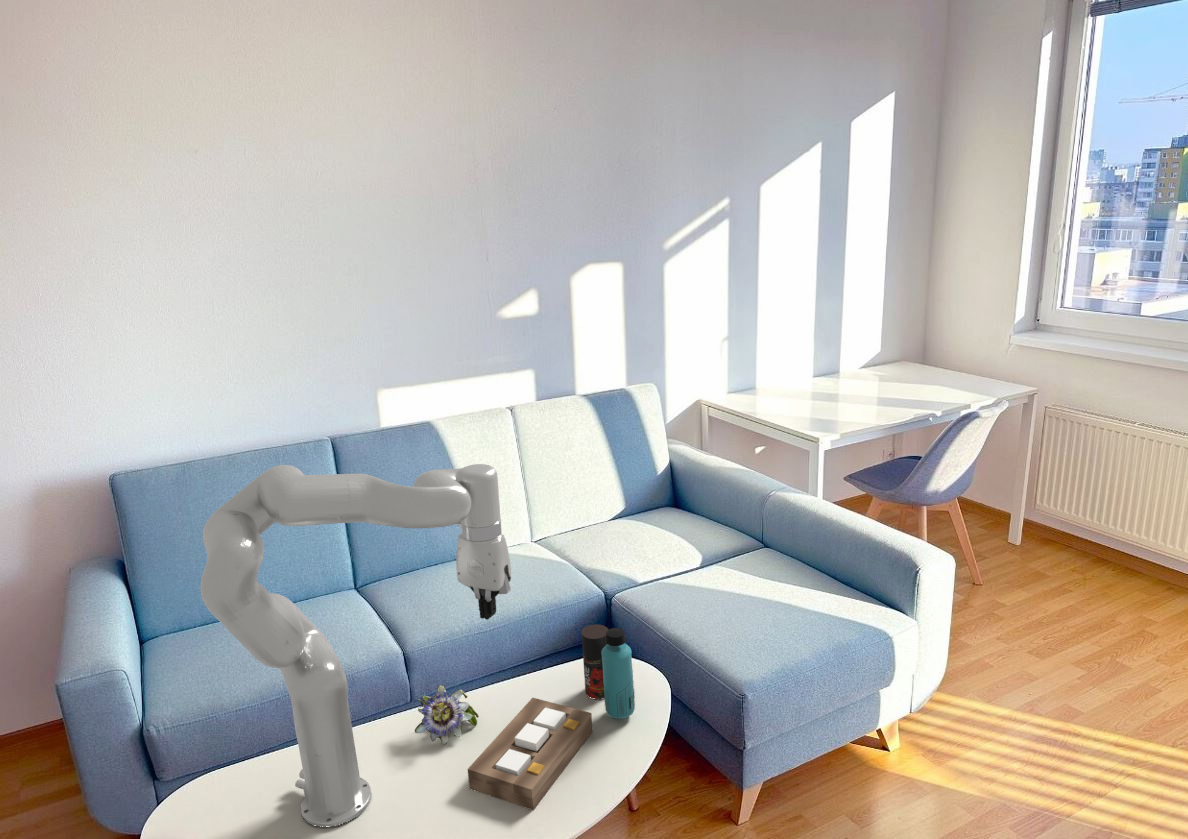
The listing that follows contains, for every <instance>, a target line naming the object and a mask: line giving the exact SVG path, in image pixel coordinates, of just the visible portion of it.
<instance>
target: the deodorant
mask: <svg viewBox="0 0 1188 839" xmlns="http://www.w3.org/2000/svg"><path fill="white" fill-rule="evenodd" d="M608 630H609V628H608V627H607V626H605V625H604V624H590V625H586V626H585V627H583V628H582V630H581V643H582V646H581V647H582V658H583V673H584V675H583V676H584V688H585V690H584V691H585V695H586V694H587V695H588V696H589V697H591V698H595V699H594V700H597V699H599V700H602V699H601V698H604V693H603V691H604V685H603V684H604V683H603V664H602V653H601V652H602V649H603V648H604V647H605V646H606V645H607V643H606V632H607V631H608ZM587 695H586V696H587ZM588 696H587V697H588ZM589 697H588V698H589ZM591 698H590V699H591Z"/></svg>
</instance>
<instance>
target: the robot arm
mask: <svg viewBox="0 0 1188 839" xmlns="http://www.w3.org/2000/svg"><path fill="white" fill-rule="evenodd" d="M497 472H498V471H497V470H496V468H495V467H494V466H492V465H489V464H486V463H474V464H469V465H466V466H464V467H462V468H448V469H444V468H443V469H431V470H428V471H425V472H423V473H421V474H420V475H419V476H418V477H417V478H416V479H415V480H414V483H413V485H412V486H409V485H402V484H397V483H393V482H389V481H387V480H384V479H382V478H380V477H378V476H377V477H376V476H373V475H370V474H366V473H360V472H359V473H340V474H337V473H336V474H333V473H332V474H304V473H303V472H302V471H301V470H300V469H299V468H297V467H295V466H293V465H290V464H278V465H275V466H273V467H272V466H271V467H270V468H269V469H267V470H266V471H264V472H262V473H261V474H259V475H258V476H257V477H256V478H254V479H253V480H252V481H251V482H250V483H248V484H247V485H246V486H244V487H243V488H242V489H241V490H240V491H239V492H238V493H236V494H235V495H234V496H233V497H232V498H230V499H229V500H228V501H226V502H225V503H224V504H223V505H222V506H220V507H219V508H218V509H217V510H215V512H213V513H212V514H211V515H210V517H209V518H208V519H207V521H206V522H205V525H204V527H203V531H202V540H203V544H204V549H205V552H206V555H207V559H206V563H205V566H204V569H203V572H202V575H201V580H200V595H201V598H202V601H203V604H204V605H205V607H206V608H207V610H208V611H209V612H210V613H211V614H212V615H213V617H215V618H216V620H218V621H219V623H220V624H222V626H224V628H226V629H227V631H228V632H229V633H230V634H231V635H232V636H233V637H234V638H235V639H236V640H237V641H238V642H239V643H240V644H241V645H242V646H243V647H244V648H245V649H246V650H247V651H248V652H249V653H250V655H252V656H253V658H254V659H255V660H256V661H257V662H259V663H260V664H262V665H264V666H265V667H269V668H272V669H279V670H280V672H281V674H282V677H283V679H284V683H285V686H286V688H287V690H288V694H289V698H290V701H291V703H290V704H291V707H292V716H293V722H294V723H293V724H294V729H295V735H296V736H295V737H296V740H297V745H298V749H299V750H298V751H299V756H300V761H301V766H302V769H300V771H299V778H300V779H297V780H296V781H295V787H296V788H297V789H301V790H303V795H304V797H303V798H302V801H301V804H300V812H301V813H302V814H301V816H303V817H302V819H303V818H304V819H305V820H306V821H307V822H308V823H310V824H312V825H316V826H321V827H322V826H323V827H326V826H335V825H339V824H342V823H344V822H347V823H349V822H351V821H353V820H354V819H356V818H357V817H358V816H360V815H361V814H362V813H363V812H364V811H365V810H366V809H367V807H368V806H369V804H370V803H371V799H372V788H371V786H370V783H369V782H368V781H367V780H365V779H364V778H363V777H361V775H360V769H359V763H358V758H357V757H358V756H357V751H356V744H355V737H354V732H353V725H352V719H351V712H350V706H349V687H348V679H347V676H346V671H345V670H344V667H343V665H342V663H341V661H340V659H339V657H338V655H337V654H336V653H335V650H334V649H333V647H332V645H331V644H330V641H328V639H327V637H326V635H324V633H322V632H321V630H319V629H318V627H317V626H316V625H315V624H314V623H313V622H312V621H311V620H310V619H309V618H308V617H307V616H306V615H305V614H304V613H303V612H302V611H301V609H299V607H298V606H296V604H295V603H294V602H292V601H291V600H290V599H289V598H288V597H286V596H284V595H282V594H280V593H272V592H269V591H268V590H267V588H266V587H264V586H263V585H262V584H261V583H260V582H259V581H258V573H259V570H260V567H261V565H262V563H263V559H264V554H265V545H264V541H263V538H262V537H261V534H264V533H265V532H266V531H267V530H268V529H269V528H270V527H271V526H272V525H273V524H275V523H277V524H278V525H281V526H285V527H304V526H305V527H306V526H320V525H332V524H333V525H335V524H352V523H354V524H355V523H364V524H365V523H367V524H371V525H377V526H383V527H384V526H385V527H395V528H401V529H402V528H404V529H434V528H444V527H445V528H447V527H450V526H451V527H452V526H454V525H457V527H460V529H461V533H460V534H459V535H458V538H457V544H456V557H455V560H456V561H455V562H456V563H455V564H456V566H455V567H456V578H457V581H458V582H459V583H460V584H461V585H463V586H466V587H468V588H469V589H470V590H471V591H472V592H473V593H474V596H475V599H477V600H478V601H477V602H478V610H479V618H480V619H483V620H487V621H488V620H489V619H490V618H492V617H493V616H494V615H496V613H497V598H496V597H497V596H498V595H507V594H508V593H509V592H511V590H512V588H511V586H510V583H511V580H512V568H511V567H512V566H511V560H510V559H511V558H510V553H509V549H508V545H507V541H506V537H505V534H502V533H503V532H502V520H501V510H500V509H501V508H500V494H499V492H500V491H499V480H498V479H499V478H498V473H497ZM355 817H356V818H355ZM353 818H354V819H353ZM304 819H303V820H304ZM352 819H353V820H352ZM305 820H304V821H305ZM350 820H351V821H350ZM306 821H305V822H306ZM348 821H349V822H348ZM307 822H306V823H307ZM308 823H307V824H308ZM310 824H309V825H310ZM312 825H311V826H312ZM342 825H343V824H342ZM339 826H340V825H339ZM321 827H320V828H321ZM335 827H336V826H335Z"/></svg>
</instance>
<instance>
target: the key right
mask: <svg viewBox="0 0 1188 839" xmlns="http://www.w3.org/2000/svg"><path fill="white" fill-rule="evenodd" d="M565 719H566V713H564V712H560V711H557V710H553V709H549V708H544V709H543V710H542V712H541V713H540V714H539V715H538V716H537V717H536V719H535V720H534V721H533V722H534V725H536V726H539V727H543V728H547V729H549V730H552V731H556V730H557V729H558V728H559V726H560V725H561V724H562V723H563V722H564V720H565Z"/></svg>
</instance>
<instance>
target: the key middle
mask: <svg viewBox="0 0 1188 839" xmlns="http://www.w3.org/2000/svg"><path fill="white" fill-rule="evenodd" d="M548 737H549V731H548V729H547V728H543V727H539V726H536V725H532V724H529V723H527V724H526V725H525V726H524V728H523V729H522V730H521V731H520V732H519V733H518V734H517V736H516V737H515V745H516V746H519V747H522V748H526V749H529V750H533V751H536V752H537V751H538V750H539V748H540V747H541V746H542V745H543V743H544V742H545V741H546V740H547V739H548Z"/></svg>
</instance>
